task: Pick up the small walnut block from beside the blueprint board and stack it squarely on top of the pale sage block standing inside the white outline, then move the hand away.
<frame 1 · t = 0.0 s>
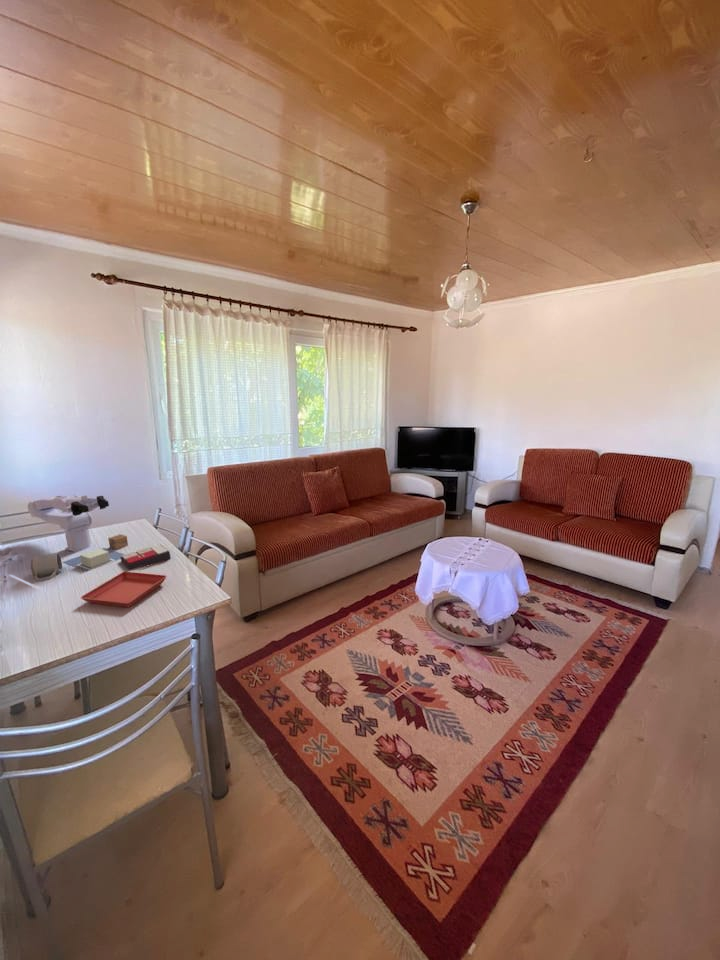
hand: (97, 506, 154), 22 cm above the table, tool horizontal, fingers open, 7 cm apart
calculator: (146, 562, 154), on the table
blueprint board: (96, 560, 156), on the table
sage base block: (96, 562, 152), point 1 cm above the table, touching blueprint board
walnut block: (119, 547, 168), on the table
ceramic mug: (49, 576, 143), on the table
plant saucer: (127, 595, 129), on the table
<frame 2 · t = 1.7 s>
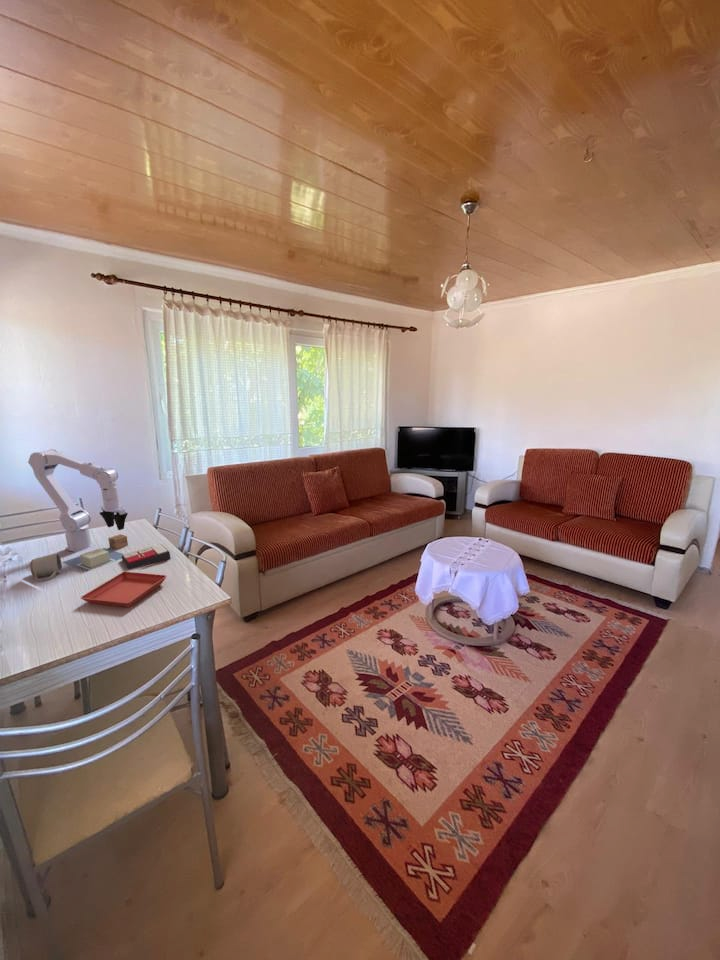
hand: (115, 528, 166), 9 cm above the table, tool pointing down, fingers open, 7 cm apart
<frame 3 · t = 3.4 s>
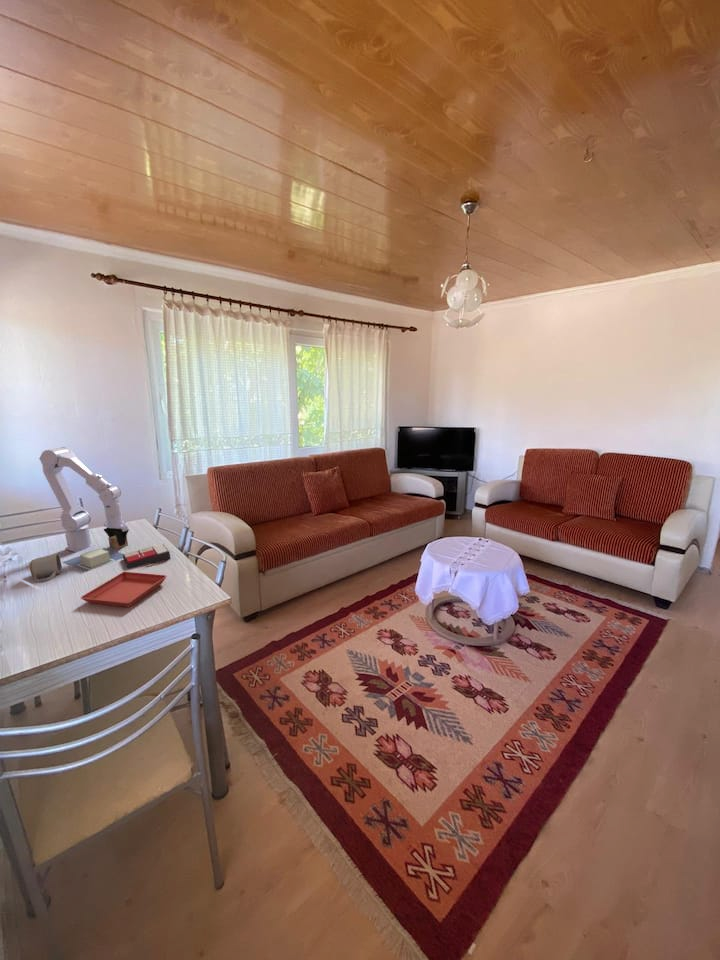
hand: (118, 544, 168), 2 cm above the table, tool pointing down, fingers closed on walnut block, 5 cm apart
walnut block: (119, 547, 168), on the table, touching gripper
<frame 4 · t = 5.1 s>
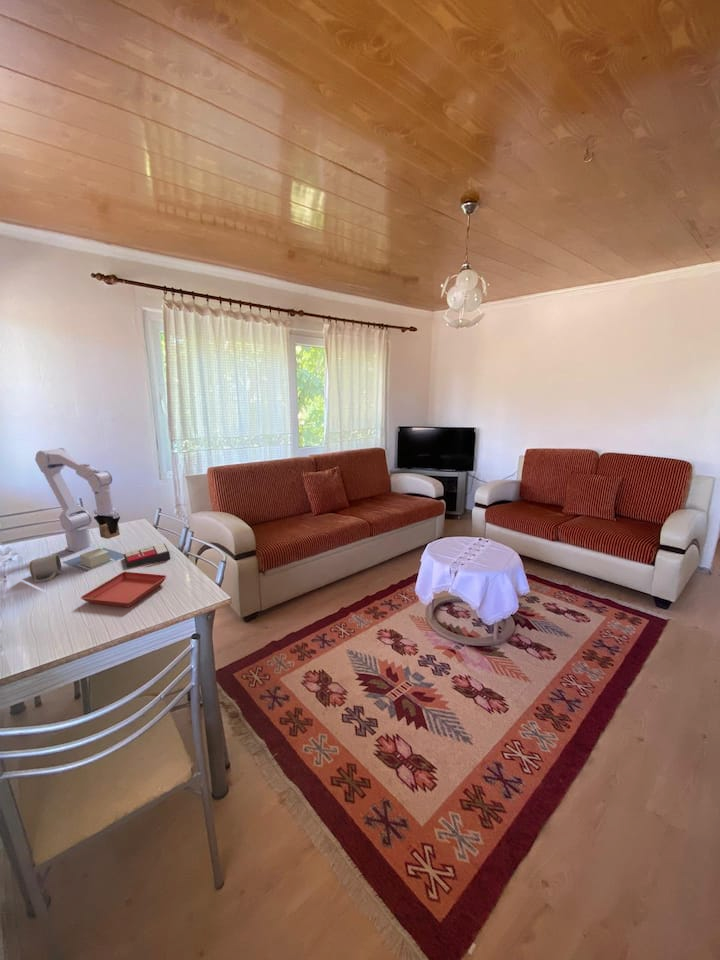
hand: (109, 532, 161), 9 cm above the table, tool pointing down, fingers closed on walnut block, 5 cm apart
walnut block: (110, 535, 162), point 7 cm above the table, touching gripper
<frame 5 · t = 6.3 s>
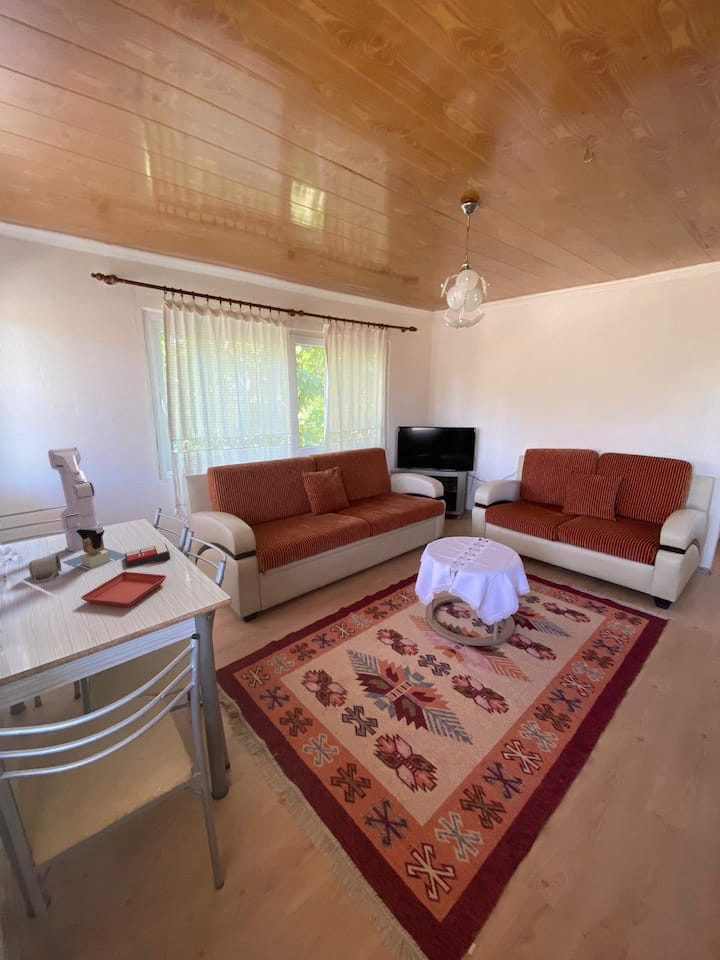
hand: (93, 547, 150), 7 cm above the table, tool pointing down, fingers closed on walnut block, 5 cm apart
walnut block: (94, 550, 151), point 6 cm above the table, touching gripper
when the fingers open (7 cm above the table, at t = 7.0 s): walnut block stays where it is, resting on sage base block.
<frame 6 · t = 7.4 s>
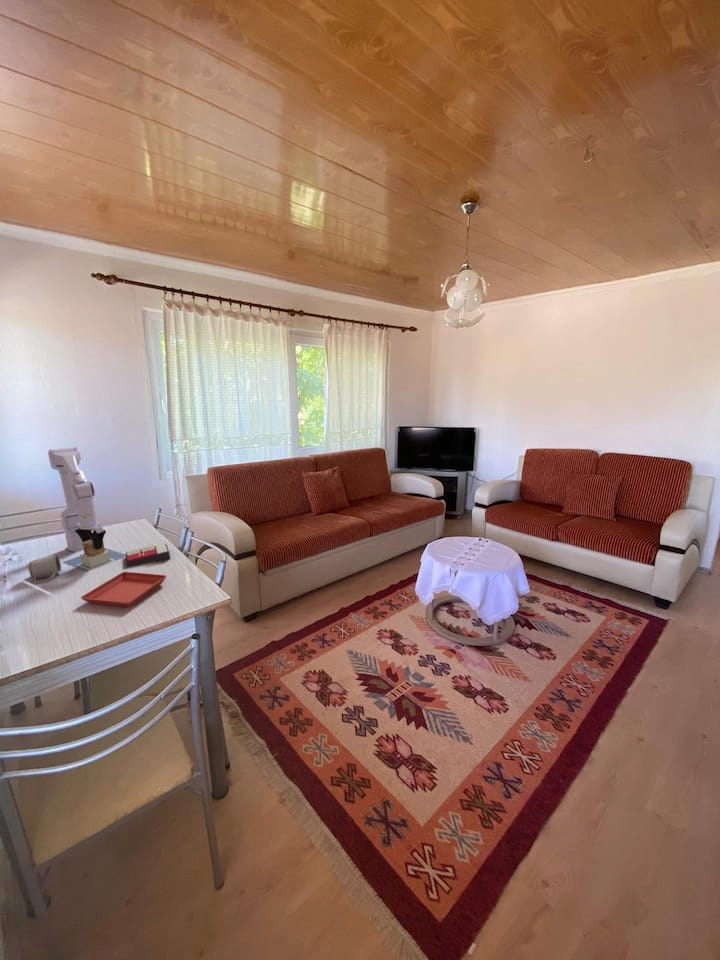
hand: (93, 547, 150), 7 cm above the table, tool pointing down, fingers open, 7 cm apart
sage base block: (96, 562, 152), point 1 cm above the table, touching blueprint board, walnut block
walnut block: (94, 553, 151), point 5 cm above the table, touching sage base block
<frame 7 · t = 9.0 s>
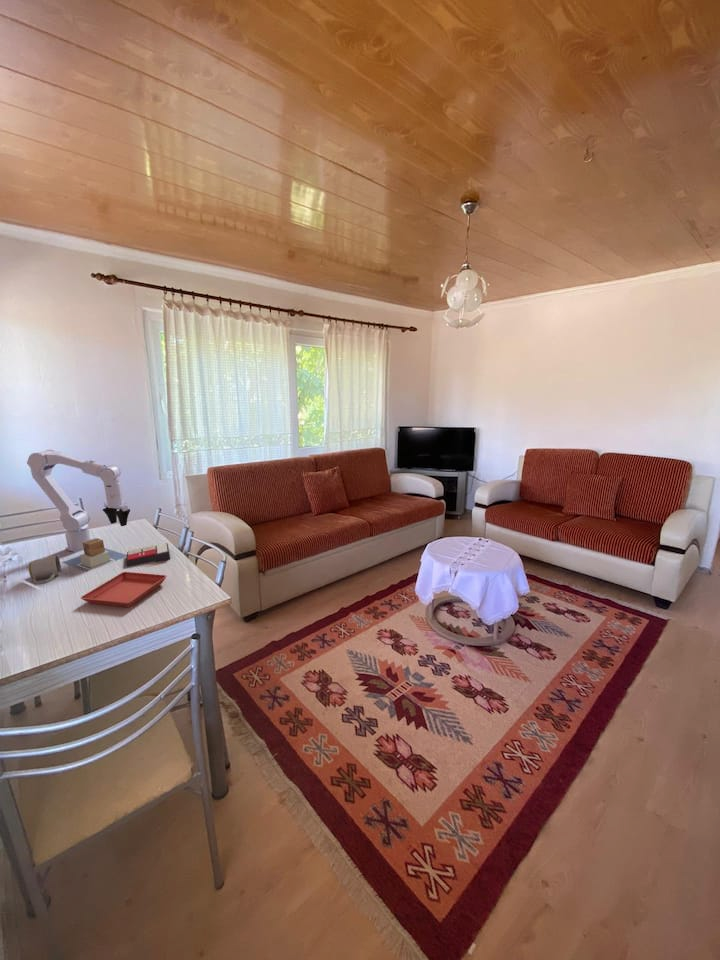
hand: (118, 524, 168), 10 cm above the table, tool pointing down, fingers open, 7 cm apart
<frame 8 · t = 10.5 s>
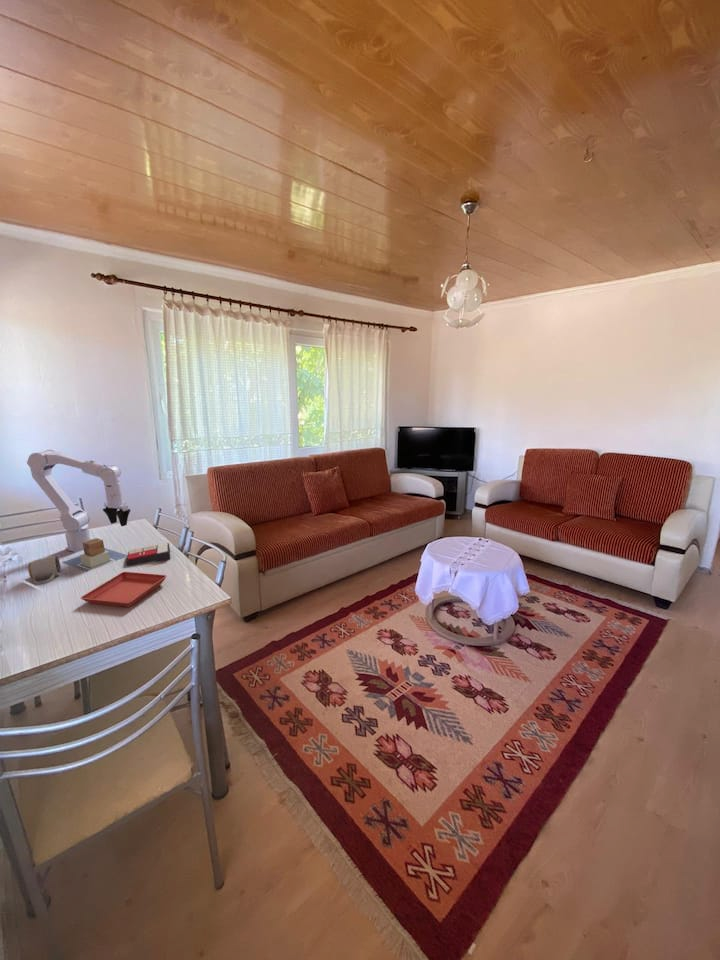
hand: (118, 524, 168), 10 cm above the table, tool pointing down, fingers open, 7 cm apart
at the end: walnut block 0.1 cm off-centre on the sage base block, point 4.0 cm above the sage base block's base; walnut block tilted 0°; the gripper is holding nothing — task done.
